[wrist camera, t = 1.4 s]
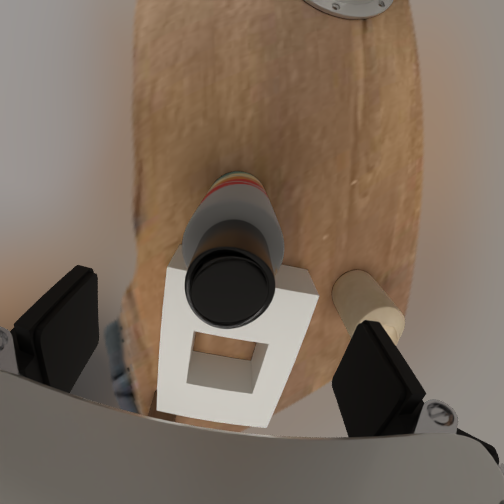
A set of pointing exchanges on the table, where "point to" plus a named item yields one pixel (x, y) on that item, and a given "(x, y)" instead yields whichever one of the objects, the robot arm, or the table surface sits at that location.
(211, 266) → the lotion bottle
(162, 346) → the bottle caddy
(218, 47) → the table surface
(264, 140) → the table surface
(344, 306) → the candle
